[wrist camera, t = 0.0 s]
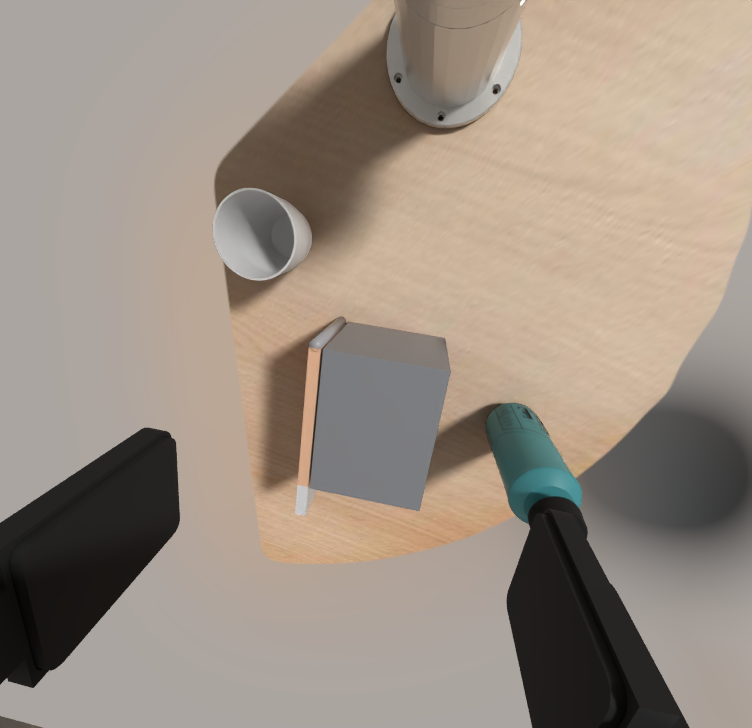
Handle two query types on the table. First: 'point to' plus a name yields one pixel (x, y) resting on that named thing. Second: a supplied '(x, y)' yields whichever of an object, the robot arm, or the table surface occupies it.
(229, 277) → the table surface
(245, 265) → the cup
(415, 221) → the table surface
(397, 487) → the grey smooth box
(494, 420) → the beverage bottle
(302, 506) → the door
